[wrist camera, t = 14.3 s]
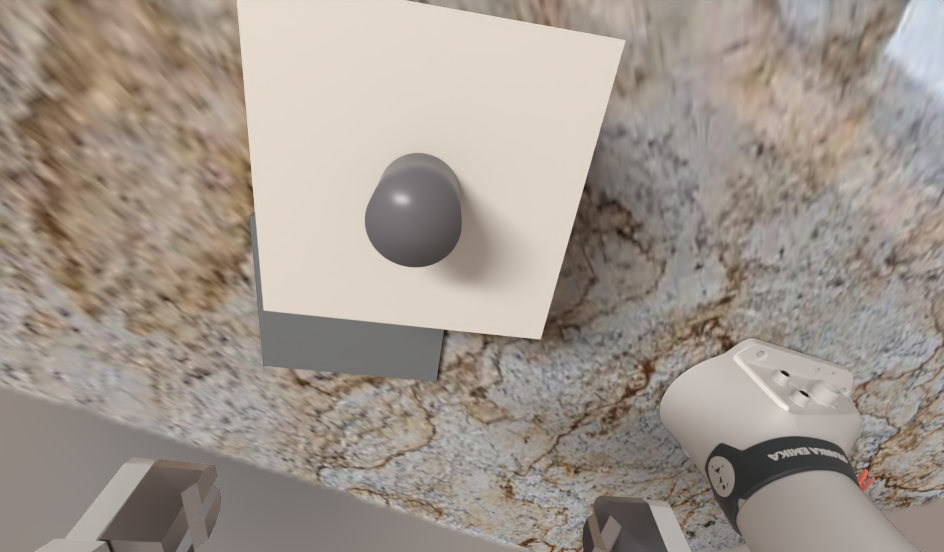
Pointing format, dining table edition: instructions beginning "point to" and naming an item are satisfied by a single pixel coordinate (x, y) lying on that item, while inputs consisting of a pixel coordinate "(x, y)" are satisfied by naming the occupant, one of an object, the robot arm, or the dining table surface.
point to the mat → (344, 341)
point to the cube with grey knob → (417, 159)
